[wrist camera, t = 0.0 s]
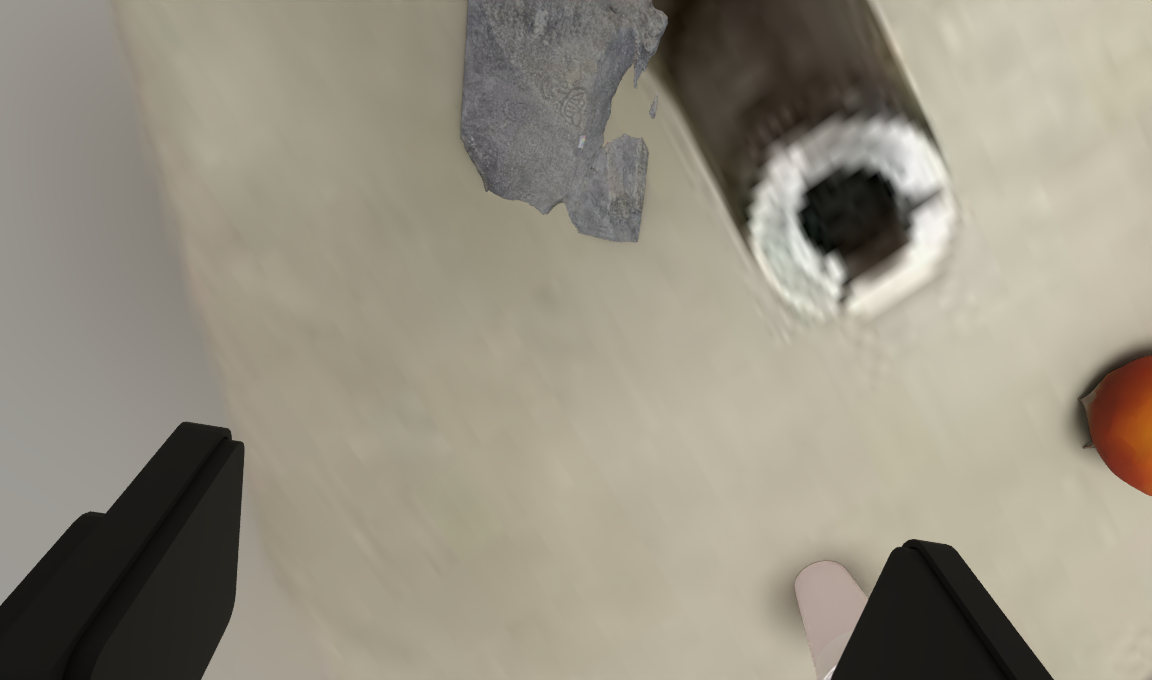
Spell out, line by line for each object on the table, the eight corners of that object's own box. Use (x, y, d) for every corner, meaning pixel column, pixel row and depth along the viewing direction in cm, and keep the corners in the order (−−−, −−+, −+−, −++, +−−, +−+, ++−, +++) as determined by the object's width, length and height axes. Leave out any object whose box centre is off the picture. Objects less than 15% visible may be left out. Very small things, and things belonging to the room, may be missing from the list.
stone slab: (648, 244, 41) (457, 233, 39) (642, 235, 42) (458, 224, 41) (697, -157, 34) (468, -185, 33) (688, -149, 36) (469, -175, 34)
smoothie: (879, 599, 53) (988, 792, 40) (790, 631, 54) (869, 830, 41) (854, 531, 50) (963, 714, 37) (761, 565, 51) (836, 755, 38)
